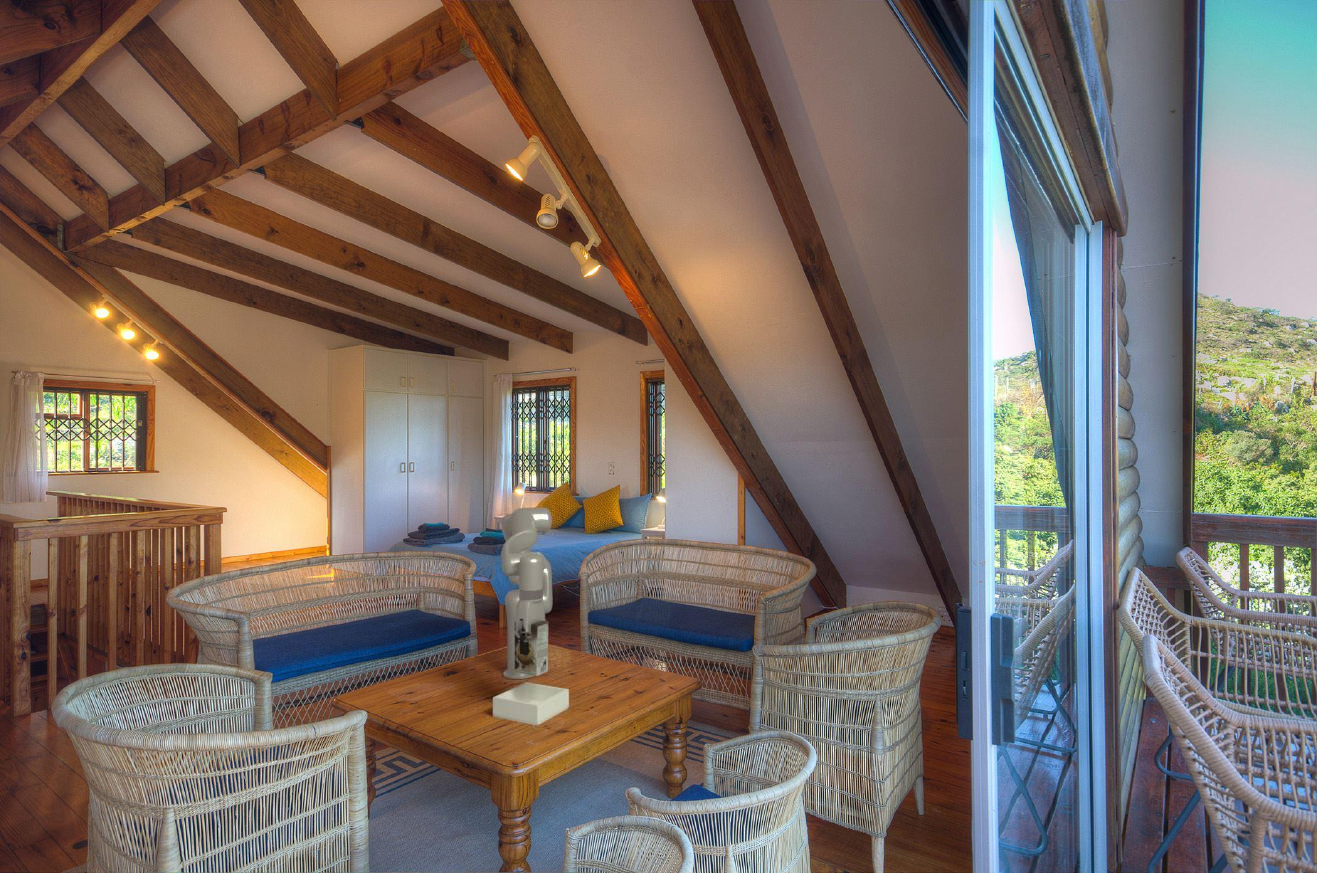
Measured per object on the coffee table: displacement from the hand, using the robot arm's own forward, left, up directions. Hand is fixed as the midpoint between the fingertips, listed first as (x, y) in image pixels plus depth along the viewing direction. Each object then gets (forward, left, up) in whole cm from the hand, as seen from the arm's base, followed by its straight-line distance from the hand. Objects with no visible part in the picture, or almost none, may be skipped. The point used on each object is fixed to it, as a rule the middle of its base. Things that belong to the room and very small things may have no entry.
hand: (531, 650), depth 235 cm
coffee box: (0, 0, -7) cm, 7 cm away
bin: (0, 0, -19) cm, 19 cm away
